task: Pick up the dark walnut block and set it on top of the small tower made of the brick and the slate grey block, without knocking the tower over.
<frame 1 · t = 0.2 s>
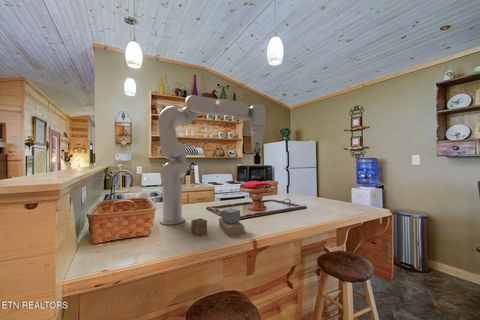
hand: (257, 163, 113), 31 cm above the counter, tool pointing down, fingers open, 9 cm apart
brick: (231, 231, 106), on the counter, touching slate block
slate block: (231, 220, 106), point 4 cm above the counter, touching brick
walnut block: (199, 233, 101), on the counter
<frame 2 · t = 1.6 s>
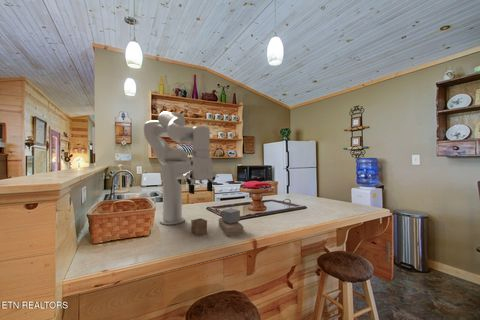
hand: (200, 192, 101), 18 cm above the counter, tool pointing down, fingers open, 9 cm apart
nothing on the counter moved.
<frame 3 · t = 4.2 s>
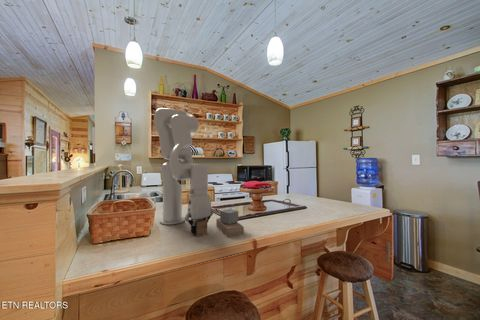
hand: (199, 232, 101), 1 cm above the counter, tool pointing down, fingers closed on walnut block, 5 cm apart
walnut block: (199, 233, 101), on the counter, touching gripper
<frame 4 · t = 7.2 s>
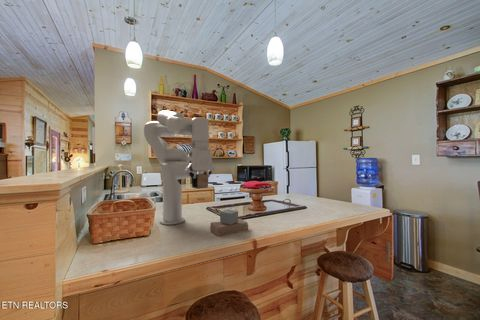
hand: (200, 186, 100), 21 cm above the counter, tool pointing down, fingers closed on walnut block, 5 cm apart
walnut block: (200, 187, 100), point 21 cm above the counter, touching gripper
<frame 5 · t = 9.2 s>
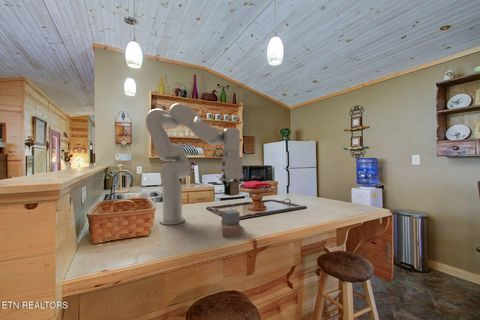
hand: (231, 193, 106), 17 cm above the counter, tool pointing down, fingers closed on walnut block, 5 cm apart
walnut block: (231, 194, 106), point 17 cm above the counter, touching gripper
when the fingers open (12 cm above the counter, at t = 10.7 s): walnut block drops 2 cm, resting on slate block.
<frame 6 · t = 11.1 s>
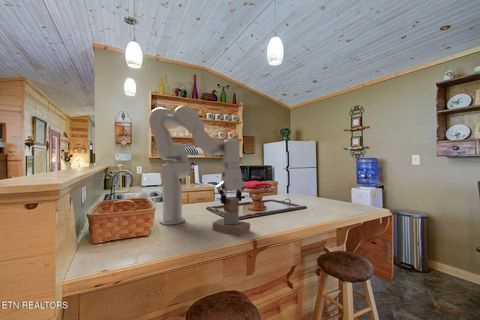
hand: (231, 202, 106), 13 cm above the counter, tool pointing down, fingers open, 9 cm apart
slate block: (231, 221, 105), point 4 cm above the counter, touching brick, walnut block
walnut block: (231, 210, 106), point 9 cm above the counter, touching slate block
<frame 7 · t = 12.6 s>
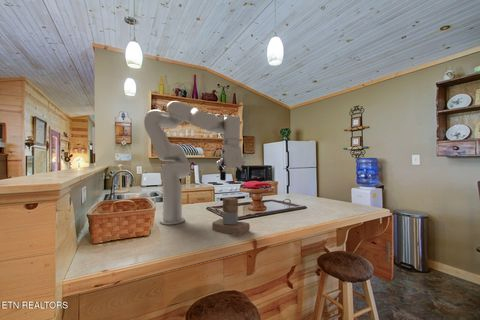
hand: (230, 179, 106), 24 cm above the counter, tool pointing down, fingers open, 9 cm apart
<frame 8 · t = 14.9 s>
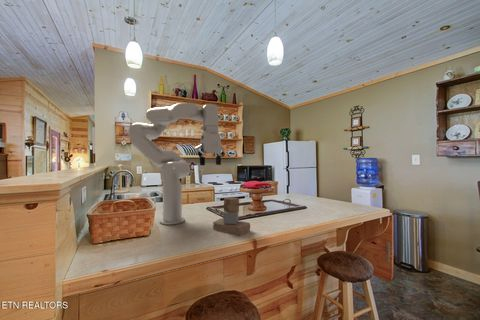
hand: (210, 165, 110), 30 cm above the counter, tool pointing down, fingers open, 9 cm apart
at the end: walnut block 0.2 cm off-centre on the slate block, point 5.0 cm above the slate block's base; slate block inside the target area on the brick (0.4 cm from its centre), point 4.8 cm above the brick's base; walnut block tilted 1° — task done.
